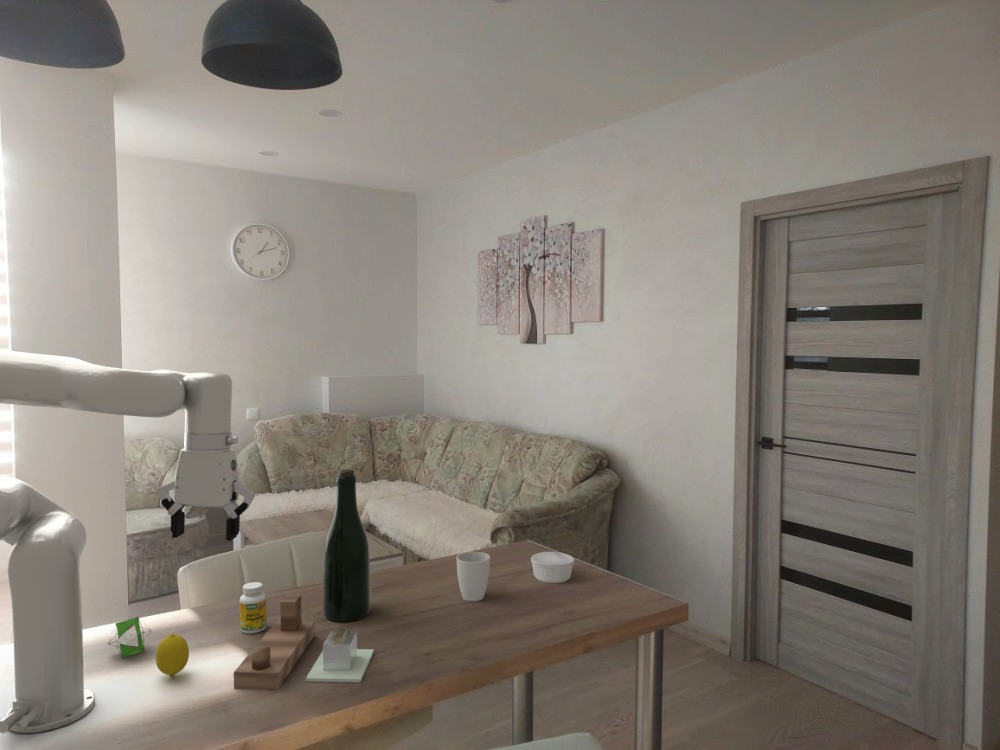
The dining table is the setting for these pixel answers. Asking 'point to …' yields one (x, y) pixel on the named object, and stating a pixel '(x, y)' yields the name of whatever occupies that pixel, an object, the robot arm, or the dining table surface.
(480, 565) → the cup
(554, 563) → the ramekin
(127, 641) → the geometric puzzle
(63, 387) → the robot arm
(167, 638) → the lemon
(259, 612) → the supplement bottle
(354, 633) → the white block
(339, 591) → the dark green wine bottle
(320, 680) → the mat
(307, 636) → the tan board with knob
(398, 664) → the dining table surface
